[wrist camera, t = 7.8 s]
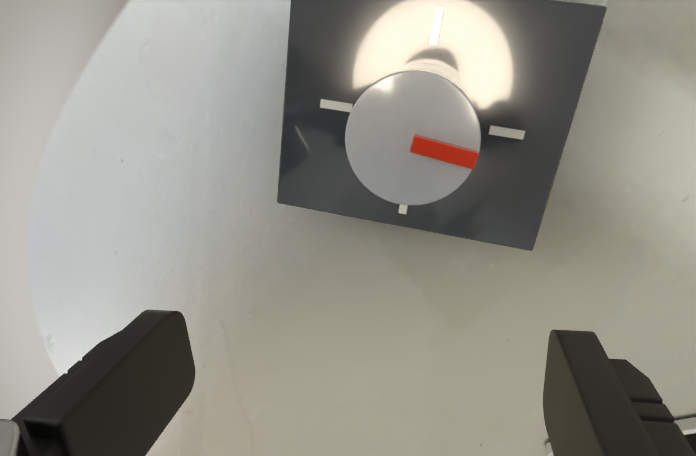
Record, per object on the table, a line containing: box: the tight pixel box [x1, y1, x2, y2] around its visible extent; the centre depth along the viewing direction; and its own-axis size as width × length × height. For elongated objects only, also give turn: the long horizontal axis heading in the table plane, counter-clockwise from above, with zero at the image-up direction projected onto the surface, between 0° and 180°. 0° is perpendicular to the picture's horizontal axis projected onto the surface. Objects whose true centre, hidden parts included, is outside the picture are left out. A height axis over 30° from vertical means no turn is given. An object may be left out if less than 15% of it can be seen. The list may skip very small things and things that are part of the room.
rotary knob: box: [345, 63, 481, 205], centre depth 17 cm, size 4×4×5 cm
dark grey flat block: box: [277, 0, 607, 251], centre depth 21 cm, size 12×10×3 cm
